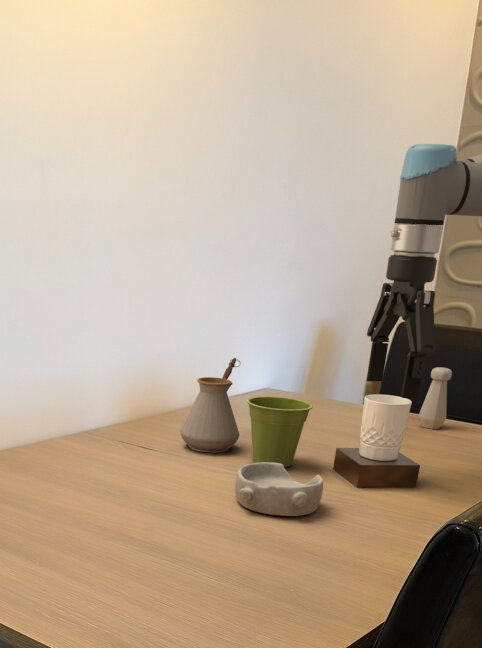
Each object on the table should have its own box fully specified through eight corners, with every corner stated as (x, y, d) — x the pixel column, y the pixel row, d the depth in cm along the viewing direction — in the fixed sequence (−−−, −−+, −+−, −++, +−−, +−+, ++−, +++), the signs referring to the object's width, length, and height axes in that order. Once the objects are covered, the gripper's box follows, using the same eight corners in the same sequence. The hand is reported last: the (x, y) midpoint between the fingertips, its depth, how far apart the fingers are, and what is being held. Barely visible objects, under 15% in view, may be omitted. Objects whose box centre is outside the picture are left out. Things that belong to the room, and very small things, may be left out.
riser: (388, 468, 154) (392, 447, 152) (416, 487, 144) (420, 465, 142) (332, 469, 152) (336, 447, 150) (356, 487, 142) (360, 465, 140)
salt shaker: (412, 425, 187) (423, 366, 181) (425, 422, 191) (437, 364, 185) (435, 431, 183) (447, 371, 178) (448, 428, 187) (461, 369, 181)
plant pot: (318, 468, 151) (327, 407, 146) (267, 476, 145) (275, 412, 140) (276, 452, 160) (283, 393, 155) (227, 458, 154) (233, 397, 149)
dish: (250, 485, 140) (254, 456, 138) (330, 501, 134) (335, 471, 132) (217, 508, 128) (220, 477, 126) (303, 527, 122) (307, 494, 120)
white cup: (394, 465, 141) (405, 406, 137) (349, 456, 145) (359, 399, 140) (405, 455, 147) (416, 399, 143) (362, 447, 151) (371, 392, 146)
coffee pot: (229, 458, 154) (237, 377, 147) (171, 450, 157) (176, 369, 151) (255, 434, 172) (263, 360, 166) (202, 426, 175) (208, 354, 169)
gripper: (359, 249, 142) (342, 374, 151) (429, 259, 120) (403, 405, 129) (400, 250, 143) (380, 375, 153) (476, 260, 121) (447, 405, 131)
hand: (391, 389), depth 141 cm, fingers open, 13 cm apart
